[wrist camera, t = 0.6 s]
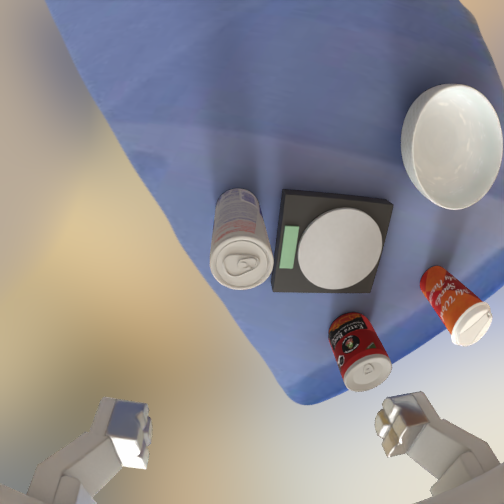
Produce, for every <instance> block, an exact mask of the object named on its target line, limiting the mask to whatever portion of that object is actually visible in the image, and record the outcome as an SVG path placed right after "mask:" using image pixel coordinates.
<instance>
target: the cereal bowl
mask: <svg viewBox="0 0 504 504" xmlns="http://www.w3.org/2000/svg"><path fill="white" fill-rule="evenodd" d="M502 152H503V139H502V131H501V126H500V122H499V119H498V116H497V114H496V112H495V110H494V108H493V106H492V105H491V103H490V102H489V101H488V99H487V98H486V97H485V96H484V95H483V94H481V93H480V92H479V91H477V90H476V89H474V88H472V87H470V86H467V85H462V84H444V85H443V84H442V85H438V86H436V87H432V88H431V89H428V90H427V91H425V92H423V94H421V95H420V96H419V97H418V98H417V99H416V100H415V101H414V102H413V103H412V105H411V107H410V108H409V111H408V112H407V115H406V117H405V119H404V122H403V127H402V133H401V153H402V159H403V163H404V166H405V168H406V172H407V174H408V176H409V178H410V179H411V181H412V183H413V184H414V185H415V187H416V188H417V189H418V190H419V191H420V192H421V193H422V194H423V195H424V196H425V197H426V198H428V199H429V200H430V201H432V202H433V203H435V204H436V205H438V206H440V207H443V208H446V209H451V210H457V209H463V208H466V207H469V206H471V205H473V204H474V203H476V202H477V201H479V200H480V199H481V198H482V197H483V196H484V195H485V194H486V193H487V192H488V190H489V189H490V188H491V186H492V184H493V183H494V181H495V179H496V177H497V174H498V172H499V168H500V165H501V160H502Z"/></svg>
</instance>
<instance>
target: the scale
mask: <svg viewBox="0 0 504 504" xmlns="http://www.w3.org/2000/svg"><path fill="white" fill-rule="evenodd" d="M392 210H393V204H392V203H390V202H389V201H387V200H386V199H378V198H370V197H361V196H353V195H343V194H333V193H323V192H312V191H301V190H288V189H282V197H281V206H280V214H279V223H278V231H277V239H276V247H275V255H274V264H273V271H272V278H271V285H272V290H273V292H298V293H370V292H371V289H372V285H373V282H374V279H375V275H376V272H377V268H378V265H379V261H380V258H381V254H382V250H383V246H384V243H385V239H386V235H387V231H388V227H389V222H390V218H391V214H392Z"/></svg>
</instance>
